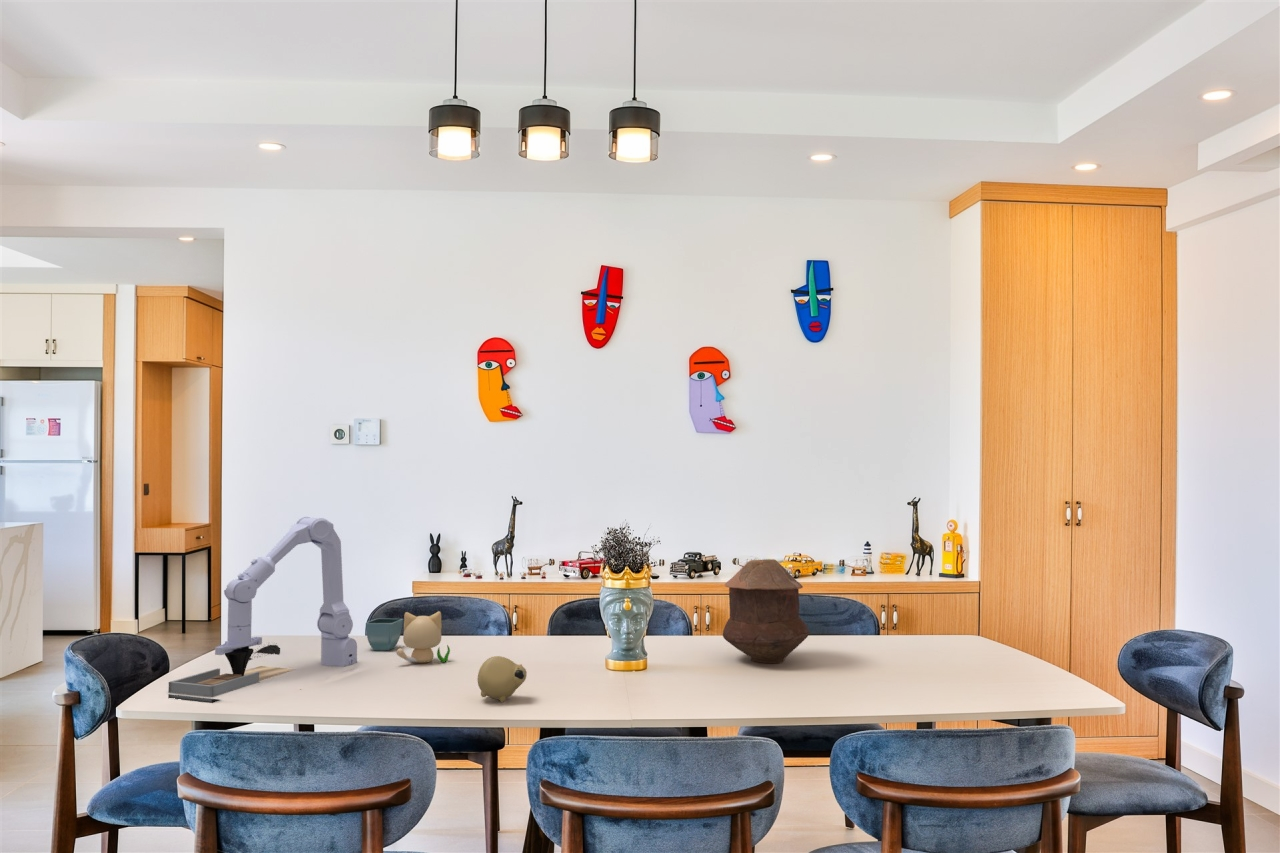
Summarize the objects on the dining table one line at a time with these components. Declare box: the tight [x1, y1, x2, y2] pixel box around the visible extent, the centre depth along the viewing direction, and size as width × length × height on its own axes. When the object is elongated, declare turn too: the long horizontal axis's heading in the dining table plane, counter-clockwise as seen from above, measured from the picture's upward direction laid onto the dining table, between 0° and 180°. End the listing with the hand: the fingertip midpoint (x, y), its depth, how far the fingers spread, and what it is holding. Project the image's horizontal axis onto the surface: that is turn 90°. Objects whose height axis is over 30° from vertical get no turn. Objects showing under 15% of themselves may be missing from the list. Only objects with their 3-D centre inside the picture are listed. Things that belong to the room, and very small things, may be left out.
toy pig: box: [477, 655, 527, 703], centre depth 219 cm, size 10×12×11 cm
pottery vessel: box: [722, 558, 810, 664], centre depth 264 cm, size 26×26×30 cm
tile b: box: [196, 679, 227, 685], centre depth 222 cm, size 5×5×3 cm
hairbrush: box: [249, 642, 281, 661], centre depth 259 cm, size 8×4×25 cm
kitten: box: [396, 610, 451, 664], centre depth 260 cm, size 15×10×15 cm, turn 100°
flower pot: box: [365, 618, 404, 651], centre depth 279 cm, size 9×9×9 cm
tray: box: [167, 667, 260, 704], centre depth 225 cm, size 14×16×4 cm
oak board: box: [244, 665, 296, 682], centre depth 239 cm, size 12×15×2 cm
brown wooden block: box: [212, 672, 242, 681], centre depth 228 cm, size 5×5×3 cm
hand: (238, 677), depth 232 cm, fingers closed
